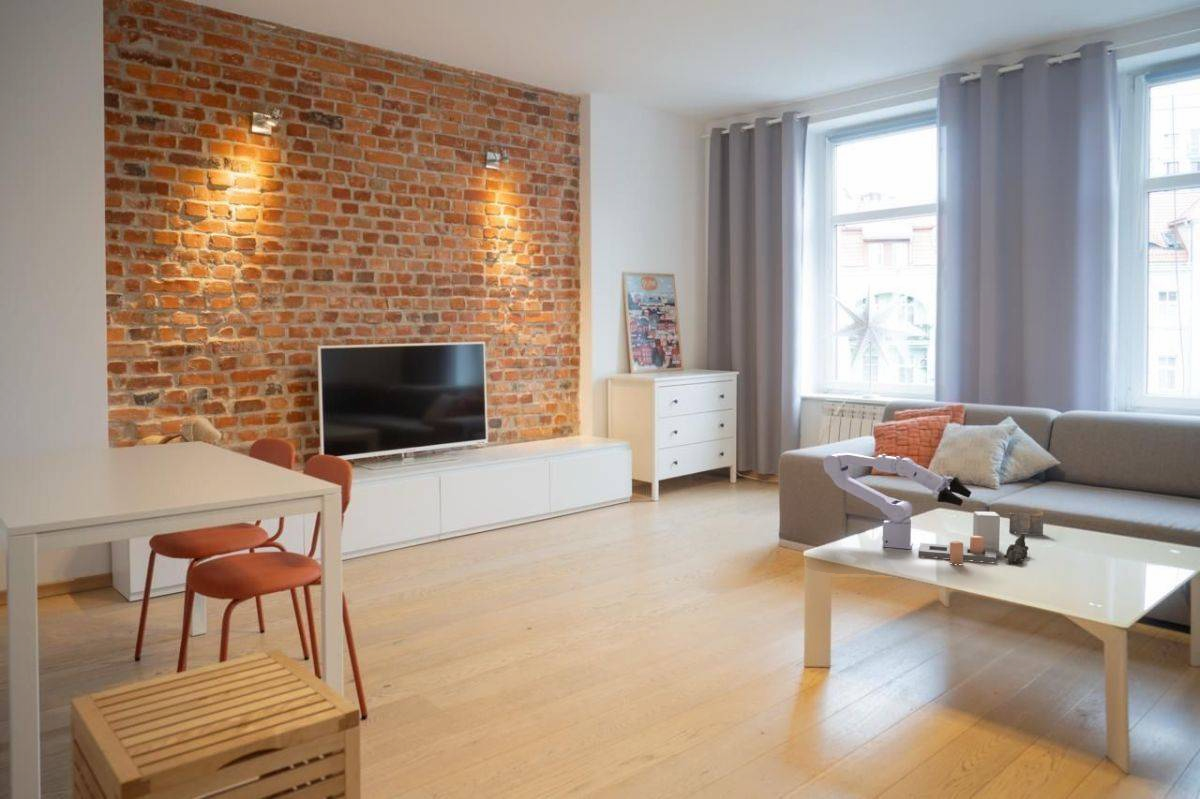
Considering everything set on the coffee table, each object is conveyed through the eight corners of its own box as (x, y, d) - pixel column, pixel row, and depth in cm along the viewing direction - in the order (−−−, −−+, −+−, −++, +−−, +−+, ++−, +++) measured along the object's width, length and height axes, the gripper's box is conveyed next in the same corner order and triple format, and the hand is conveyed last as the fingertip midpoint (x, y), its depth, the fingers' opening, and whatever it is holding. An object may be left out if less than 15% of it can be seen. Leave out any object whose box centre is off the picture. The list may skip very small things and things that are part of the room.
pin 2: (969, 558, 297) (970, 537, 296) (969, 555, 300) (970, 535, 300) (982, 559, 295) (983, 538, 295) (982, 556, 299) (983, 536, 298)
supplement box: (999, 551, 305) (1000, 515, 304) (976, 551, 306) (977, 515, 305) (994, 546, 312) (995, 511, 311) (972, 545, 314) (973, 510, 313)
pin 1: (949, 564, 289) (949, 543, 288) (949, 561, 293) (950, 540, 292) (962, 566, 287) (963, 544, 287) (962, 562, 291) (963, 542, 290)
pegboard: (918, 556, 299) (918, 550, 299) (920, 548, 310) (920, 543, 310) (996, 563, 290) (996, 557, 290) (995, 554, 301) (995, 549, 301)
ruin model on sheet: (1042, 535, 331) (1043, 509, 330) (1042, 536, 328) (1043, 510, 328) (1009, 532, 336) (1010, 506, 336) (1009, 533, 334) (1010, 508, 333)
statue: (1021, 573, 288) (1030, 549, 304) (1024, 558, 286) (1033, 534, 302) (1000, 568, 291) (1010, 544, 307) (1003, 553, 289) (1013, 529, 305)
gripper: (924, 477, 299) (962, 497, 292) (941, 462, 309) (978, 482, 302) (917, 494, 303) (954, 514, 296) (933, 479, 313) (970, 498, 306)
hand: (966, 499), depth 299 cm, fingers open, 7 cm apart
